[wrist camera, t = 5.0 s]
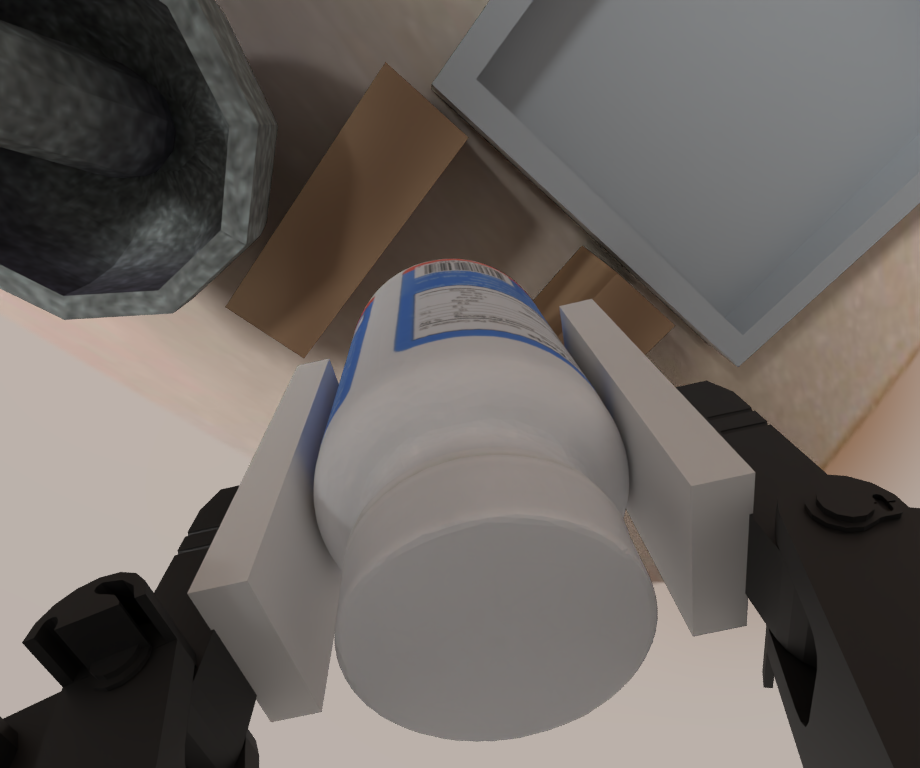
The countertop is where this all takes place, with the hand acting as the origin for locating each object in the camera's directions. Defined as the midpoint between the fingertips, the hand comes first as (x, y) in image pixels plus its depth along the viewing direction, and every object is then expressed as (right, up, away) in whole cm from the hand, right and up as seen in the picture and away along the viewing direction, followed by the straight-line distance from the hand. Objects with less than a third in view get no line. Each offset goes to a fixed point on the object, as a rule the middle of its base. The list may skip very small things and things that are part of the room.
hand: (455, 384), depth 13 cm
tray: (+10, +11, +7) cm, 16 cm away
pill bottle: (0, +1, +3) cm, 3 cm away
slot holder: (0, +4, +9) cm, 10 cm away
